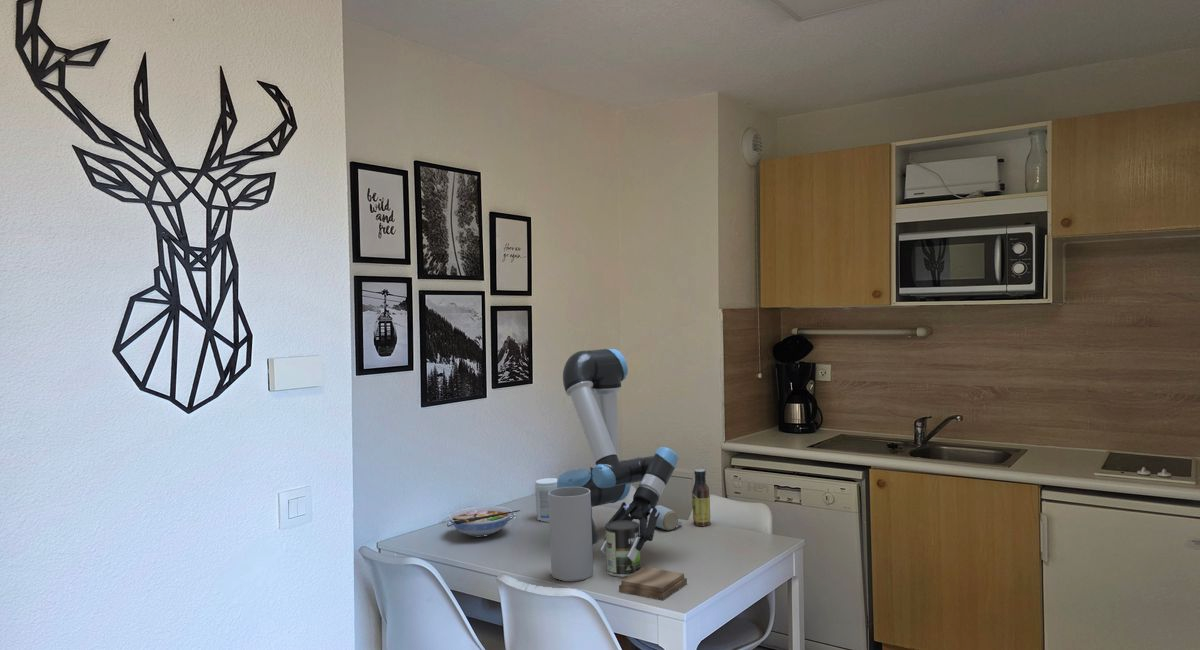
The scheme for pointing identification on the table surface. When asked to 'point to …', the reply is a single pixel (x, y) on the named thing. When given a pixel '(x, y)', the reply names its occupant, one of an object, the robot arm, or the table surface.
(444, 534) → the table surface
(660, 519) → the ceramic mug
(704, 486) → the sauce bottle
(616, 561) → the coffee can
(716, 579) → the table surface
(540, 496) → the supplement tub
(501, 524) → the ramen bowl
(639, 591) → the walnut plinth
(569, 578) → the cylinder vase
